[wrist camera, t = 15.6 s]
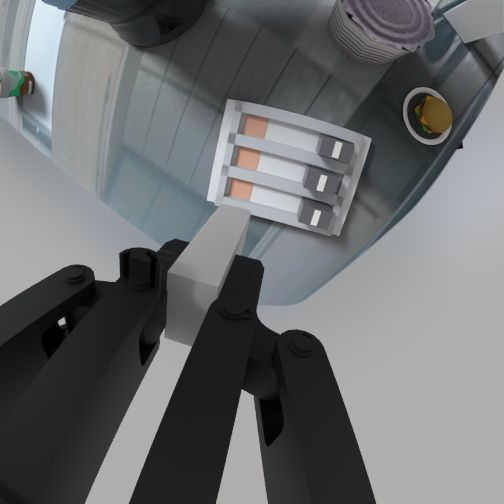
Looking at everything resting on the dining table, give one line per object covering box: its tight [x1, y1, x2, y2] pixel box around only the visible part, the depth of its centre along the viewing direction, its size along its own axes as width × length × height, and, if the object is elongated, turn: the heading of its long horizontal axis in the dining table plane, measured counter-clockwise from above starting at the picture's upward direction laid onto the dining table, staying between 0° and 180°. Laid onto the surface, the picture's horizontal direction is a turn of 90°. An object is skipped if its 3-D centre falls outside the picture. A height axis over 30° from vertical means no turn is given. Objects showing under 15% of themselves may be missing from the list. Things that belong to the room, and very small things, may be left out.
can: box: [328, 0, 435, 67], centre depth 21 cm, size 11×11×12 cm
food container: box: [0, 67, 34, 98], centre depth 28 cm, size 12×6×10 cm, turn 68°
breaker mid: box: [302, 165, 340, 197], centre depth 33 cm, size 4×2×4 cm, turn 77°
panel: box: [207, 99, 371, 236], centre depth 36 cm, size 20×15×3 cm
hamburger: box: [403, 87, 463, 149], centre depth 28 cm, size 12×12×6 cm
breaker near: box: [316, 134, 355, 164], centre depth 31 cm, size 4×2×4 cm, turn 77°
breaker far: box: [297, 196, 333, 230], centre depth 36 cm, size 4×2×4 cm, turn 77°
